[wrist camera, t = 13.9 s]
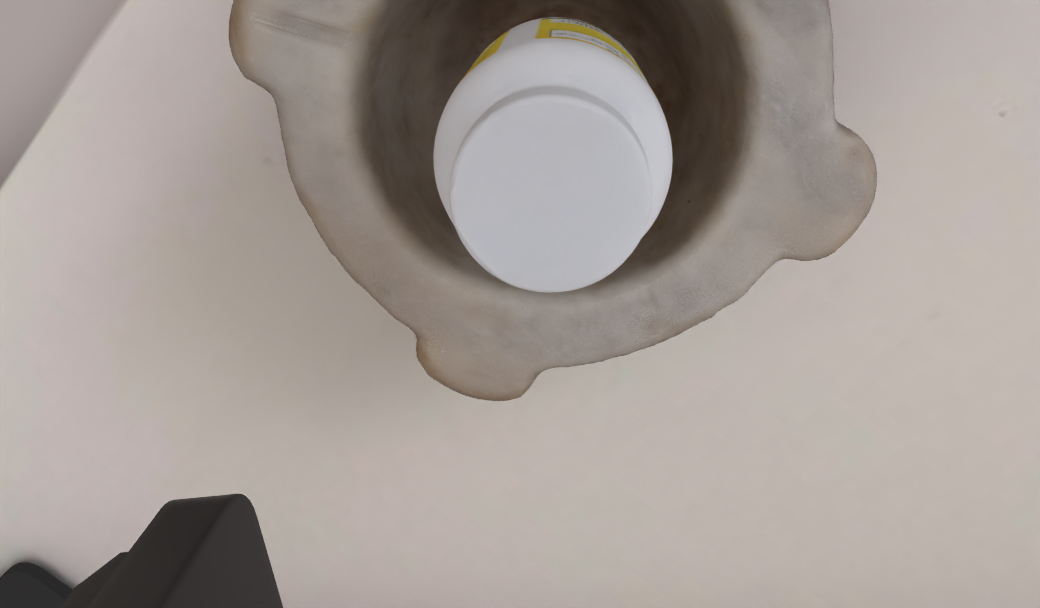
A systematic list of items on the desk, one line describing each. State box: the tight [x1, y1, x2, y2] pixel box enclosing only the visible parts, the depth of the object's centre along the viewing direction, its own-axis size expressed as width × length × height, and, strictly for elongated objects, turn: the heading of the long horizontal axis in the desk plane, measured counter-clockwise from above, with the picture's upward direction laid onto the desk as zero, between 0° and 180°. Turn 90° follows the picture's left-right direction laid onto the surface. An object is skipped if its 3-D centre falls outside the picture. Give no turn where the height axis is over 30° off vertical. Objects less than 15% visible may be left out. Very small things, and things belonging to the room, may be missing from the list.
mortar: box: [229, 0, 877, 401], centre depth 31 cm, size 17×17×9 cm
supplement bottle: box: [433, 17, 673, 293], centre depth 22 cm, size 5×5×10 cm
